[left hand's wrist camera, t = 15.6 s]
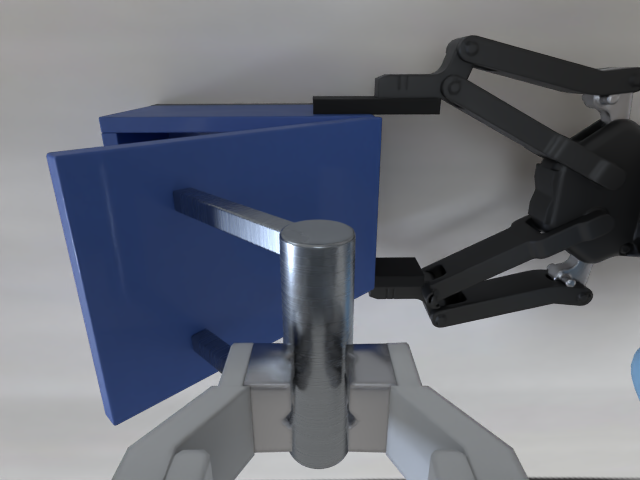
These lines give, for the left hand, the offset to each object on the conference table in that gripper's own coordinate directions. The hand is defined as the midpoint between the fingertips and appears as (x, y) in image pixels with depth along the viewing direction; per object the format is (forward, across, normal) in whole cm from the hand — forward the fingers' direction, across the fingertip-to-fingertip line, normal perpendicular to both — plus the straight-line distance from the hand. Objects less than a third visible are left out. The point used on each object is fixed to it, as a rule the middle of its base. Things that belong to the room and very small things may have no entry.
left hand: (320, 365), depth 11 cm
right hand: (+16, 0, 0) cm, 16 cm away
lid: (+8, +3, 0) cm, 9 cm away
